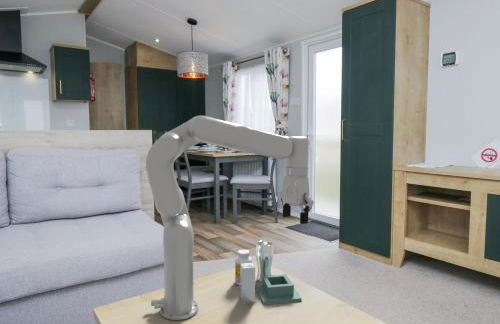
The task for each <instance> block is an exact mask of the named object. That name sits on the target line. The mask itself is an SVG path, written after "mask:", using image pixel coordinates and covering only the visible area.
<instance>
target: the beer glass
mask: <svg viewBox="0 0 500 324" xmlns="http://www.w3.org/2000/svg"><path fill="white" fill-rule="evenodd" d="M255 246H256V247H255V261H256V266H257V275H256V280H257V281H258V282H261V283H262V276H271V275H272V267H273V266H272V264H273V260H274V243H273V242H272V241H269V240H260V241H257V242H256V245H255Z"/></svg>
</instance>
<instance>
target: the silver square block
mask: <svg viewBox="0 0 500 324" xmlns="http://www.w3.org/2000/svg"><path fill="white" fill-rule="evenodd" d="M255 284H256V267H255V264H254V263H253V262H252V263H240V285H239V288H240V289H239V292H240V293H239V295H240V296H239V298H240V301H241V304H243V305H244V304H245V305H246V304H254V303H256V294H255V293H256V287H255Z"/></svg>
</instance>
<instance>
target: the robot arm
mask: <svg viewBox="0 0 500 324" xmlns="http://www.w3.org/2000/svg"><path fill="white" fill-rule="evenodd" d="M199 143H205V144H208V145H213V146H217V147H221V148H226V149H230V150H233V151H238V152H246V153H251V154H255V155H259V156H264V157H269V158H272V159H277V160H285V159H286V161H285V162H286V163H285V174H284V177H283V182H282V187H281V188H282V189H281V190H282V191H280V192H279V196H280V201H281V206H282V217H283V218H289V217H291V214H292V213H291V211H292V210H291V209H292V208H291V207H292V206H294V207H299V209H300V212H299V213H300V214H299V223H300V225H305V224H309V214H310V213H309V212H311V210H312V208H313V205H314V204H315V203H314V200H313V198H311V197H310V184H309V183H310V181H309V177H308V173H309V170H308V169H309V168H308V167H309V151H310V150H309V149H310V148H309V145H310V141H309V138H308V137H307V136H301V135H299V136H298V135H297V136H296V135H294V136H292V135H291V136H285V135H284V136H282V135H279V134H276V133H272V132H266V131H262V130H259V129H255V128H252V127H249V126H246V125H242V124H240V123H235V122H231V121H226V120H222V119H219V118H215V117H211V116H207V115H196V116H194V117H192V118H191V119H188V120H187V121H186V122H184V123H182V124H180V125H178V126H177V127H175V128H173V129H171V130H169V131H167V132H165V133H164V134H162V135H161V136H160V137H159V138H158V139H156V141H155V142H154V143H153V144H152V145H151V146H150V148H149V150H148V151H147V154H146V156H145V170H146V174H147V178H148V181H149V187H150V190H151V193H152V198H153V201H154V205H155V209H156V211H157V212H158V214H160V218H161V221H162V224H163V234H162V237H163V238H162V241H163V242H162V243H163V268H164V269H163V270H164V272H163V273H164V279H163V280H164V295H163V297H162V298H160V299H151V300H150V303H151V305H150V306H151V307H154V308H153V309H154V310H155V309H156V310H157V309H160V310H159V311H160V312H159V313H160V316H161V317H163V318H164V319H167V320H170V321H181V320H186V319H190V318H191V317H193V316H195V315H196V314H197V313H198V311H199V304H198V302H197V301H195V299H194V296H195V294H194V292H195V291H194V229H193V225H192V221H191V217H190V214H189V210H188V206H187V202H186V199H185V196H184V193H183V190H182V189H181V188H180V187H179V184H178V180H177V175H176V173H175V169H174V164H175V161H176V160H177V159H178V158H179V157H180V156H182V154H183V153H184V152H185V151H187V150H188V149H191V148H193V147H194V146H196V145H197V144H199Z"/></svg>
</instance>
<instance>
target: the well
mask: <svg viewBox="0 0 500 324" xmlns="http://www.w3.org/2000/svg"><path fill="white" fill-rule="evenodd" d="M255 290H256V292H257V293H258V295H259V297H260V300H261V302H262V304H263V305H271V304H272V305H273V304H283V303H293V302H295V303H296V302H301V301H302V299H303V298H302V297H301V295H300V294H299V293H298V291H297V289H296V288H295V285H294V283H293V282H292V281H291V279H290V277H289V276H288V274H287V273H285V274H273V275H272V274H271V276H262V282H261V283H255Z"/></svg>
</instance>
